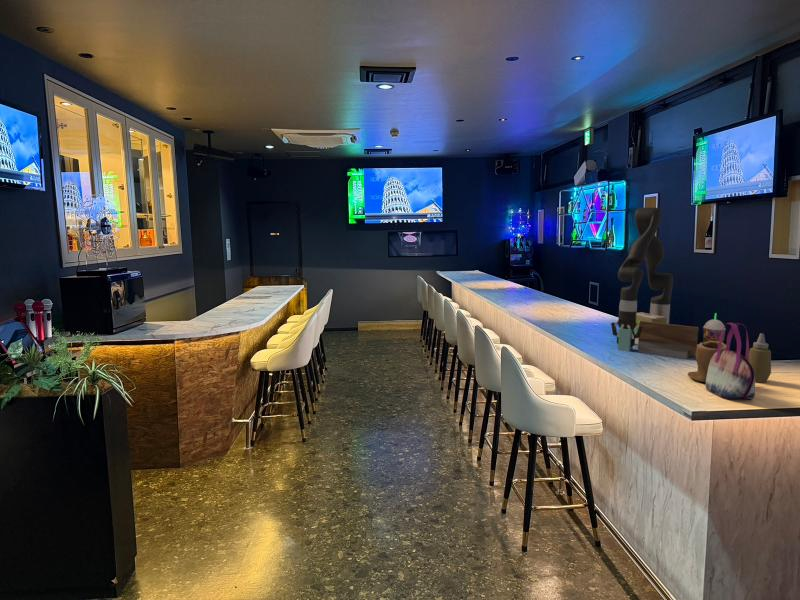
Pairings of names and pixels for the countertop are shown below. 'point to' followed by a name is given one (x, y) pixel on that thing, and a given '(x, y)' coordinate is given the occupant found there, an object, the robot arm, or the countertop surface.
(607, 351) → the countertop surface
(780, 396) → the countertop surface
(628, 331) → the cabinet
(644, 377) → the countertop surface
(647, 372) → the countertop surface
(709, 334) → the smoothie
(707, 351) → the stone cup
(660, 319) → the tea box
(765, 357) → the squeeze bottle
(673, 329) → the wall board
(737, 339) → the handbag
